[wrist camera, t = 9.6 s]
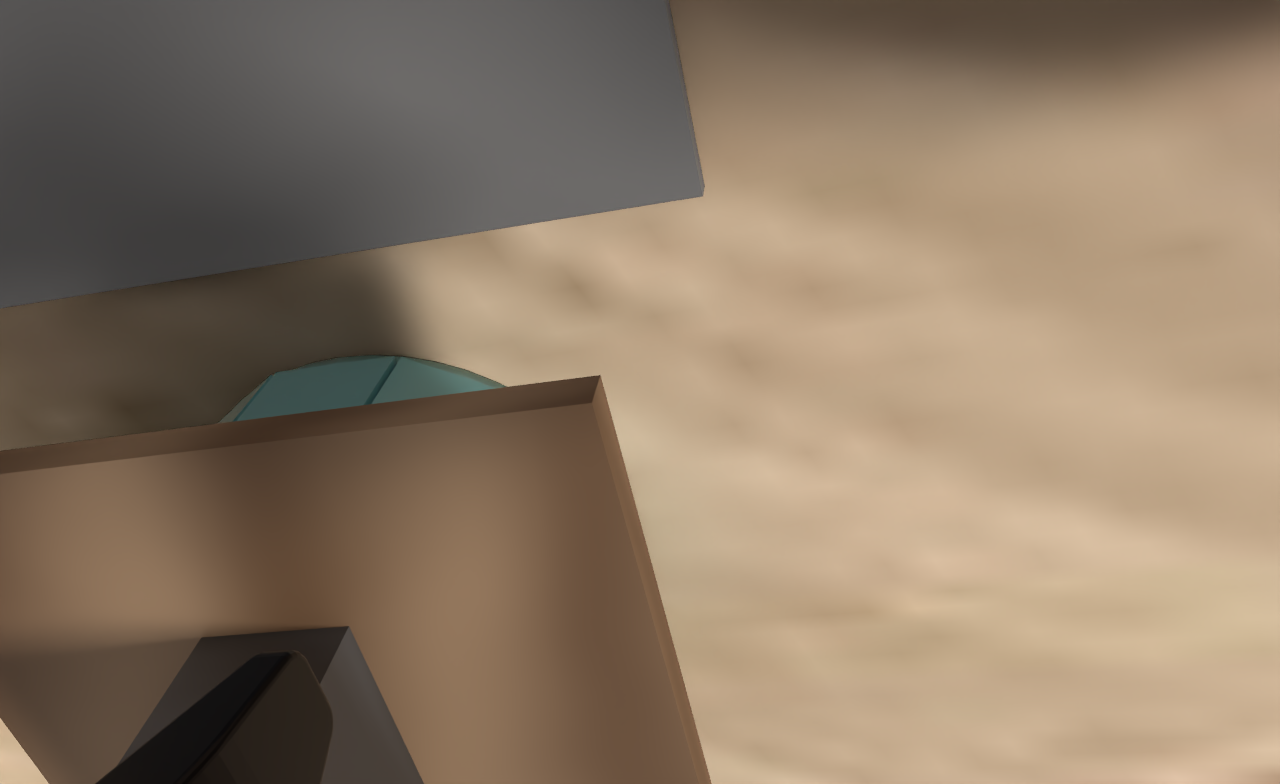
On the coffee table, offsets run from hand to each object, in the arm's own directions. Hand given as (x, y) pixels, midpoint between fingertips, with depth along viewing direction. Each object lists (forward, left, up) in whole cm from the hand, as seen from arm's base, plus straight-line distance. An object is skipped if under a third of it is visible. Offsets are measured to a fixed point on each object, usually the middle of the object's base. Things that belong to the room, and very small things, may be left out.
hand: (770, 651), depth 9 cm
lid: (+10, +8, -7) cm, 14 cm away
